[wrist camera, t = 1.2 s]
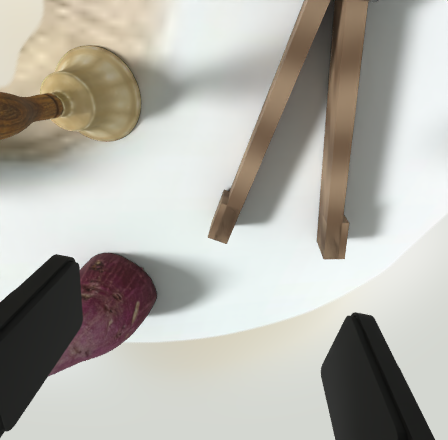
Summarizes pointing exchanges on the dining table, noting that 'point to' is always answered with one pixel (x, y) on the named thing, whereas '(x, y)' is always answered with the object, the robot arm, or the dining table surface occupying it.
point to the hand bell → (79, 98)
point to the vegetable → (108, 307)
